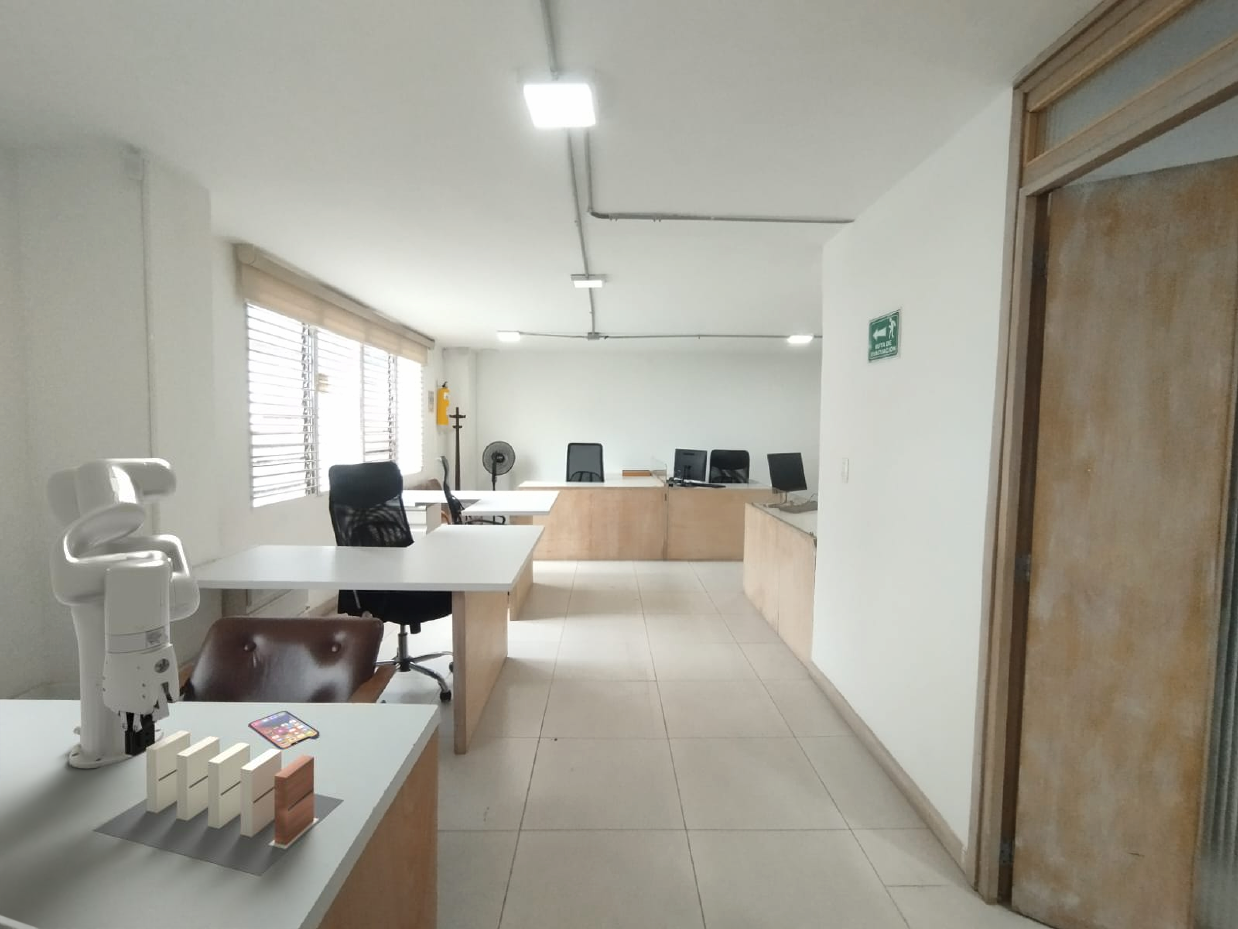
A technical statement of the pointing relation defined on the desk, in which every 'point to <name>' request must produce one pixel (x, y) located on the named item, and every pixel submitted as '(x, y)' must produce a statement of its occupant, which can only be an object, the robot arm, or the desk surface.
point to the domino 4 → (258, 791)
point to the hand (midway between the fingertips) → (140, 750)
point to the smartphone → (283, 729)
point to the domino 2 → (194, 777)
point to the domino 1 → (164, 770)
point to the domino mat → (209, 835)
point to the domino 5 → (294, 799)
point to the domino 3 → (226, 784)
